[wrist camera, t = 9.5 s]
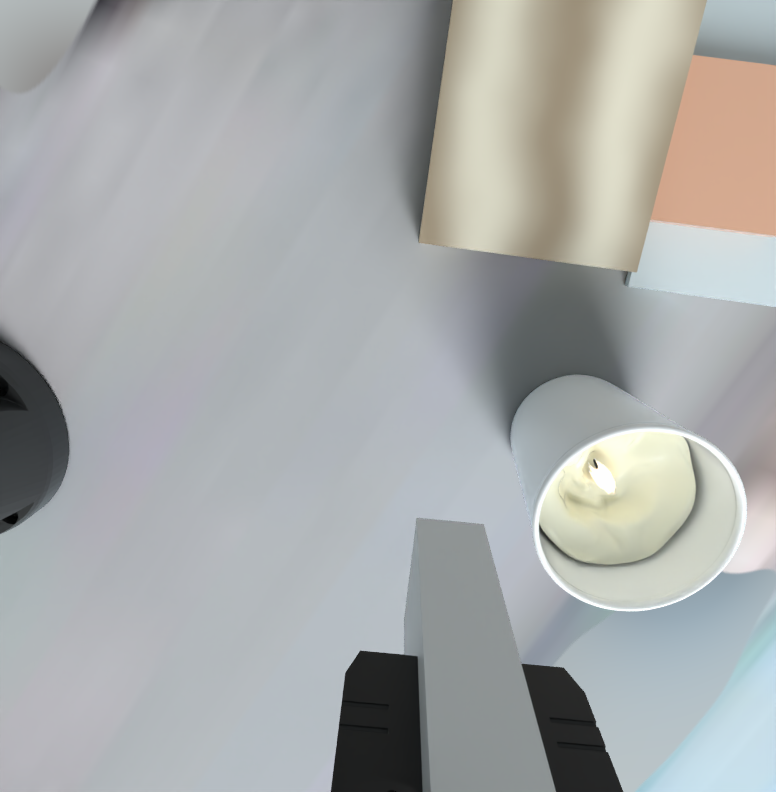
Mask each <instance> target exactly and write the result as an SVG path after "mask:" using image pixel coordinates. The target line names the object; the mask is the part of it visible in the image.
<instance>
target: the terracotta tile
mask: <svg viewBox="0 0 776 792" xmlns="http://www.w3.org/2000/svg"><path fill="white" fill-rule="evenodd" d="M650 222H655V223H663V224H671V225H678V226H686V227H694V228H701V229H709V230H717V231H725V232H732V233H740V234H748V235H755V236H763V237H776V65H769V64H761V63H753V62H745V61H737V60H729V59H721V58H713V57H706V56H698V55H693V57H692V60H691V64H690V68H689V72H688V76H687V80H686V84H685V88H684V91H683V95H682V99H681V103H680V107H679V111H678V115H677V119H676V122H675V126H674V130H673V134H672V138H671V142H670V146H669V150H668V153H667V157H666V161H665V165H664V169H663V173H662V177H661V181H660V185H659V188H658V192H657V196H656V200H655V204H654V208H653V212H652V216H651V219H650Z"/></svg>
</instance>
